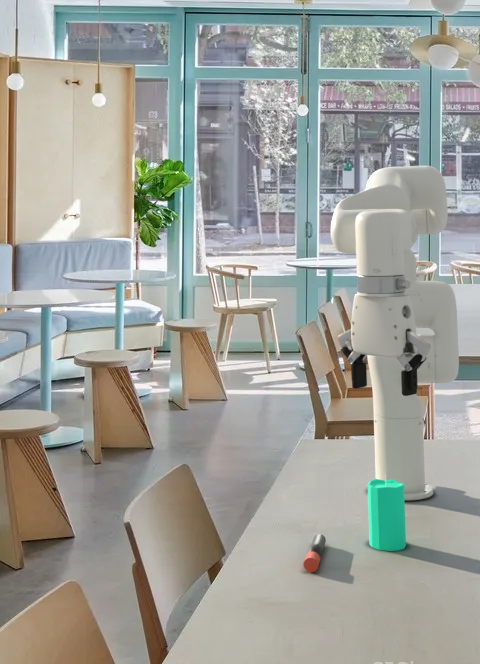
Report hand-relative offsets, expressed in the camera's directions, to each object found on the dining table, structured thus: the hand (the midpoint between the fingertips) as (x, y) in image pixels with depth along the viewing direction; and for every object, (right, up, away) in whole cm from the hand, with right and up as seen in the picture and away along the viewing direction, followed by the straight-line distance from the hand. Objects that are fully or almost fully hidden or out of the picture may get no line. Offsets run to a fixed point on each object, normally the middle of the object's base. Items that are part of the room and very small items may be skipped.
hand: (384, 391), depth 167 cm
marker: (-11, -28, +1) cm, 30 cm away
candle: (+2, -28, +7) cm, 29 cm away
